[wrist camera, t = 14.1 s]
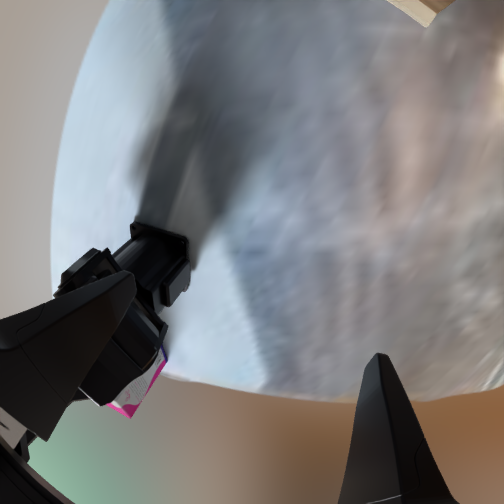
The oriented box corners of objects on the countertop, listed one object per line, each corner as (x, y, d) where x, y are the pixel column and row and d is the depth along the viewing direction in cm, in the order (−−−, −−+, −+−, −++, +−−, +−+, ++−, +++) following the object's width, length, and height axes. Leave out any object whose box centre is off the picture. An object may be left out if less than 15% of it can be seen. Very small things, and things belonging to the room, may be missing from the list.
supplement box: (127, 325, 37) (84, 382, 28) (160, 338, 36) (117, 402, 27) (137, 349, 41) (100, 402, 31) (168, 361, 39) (132, 420, 30)
